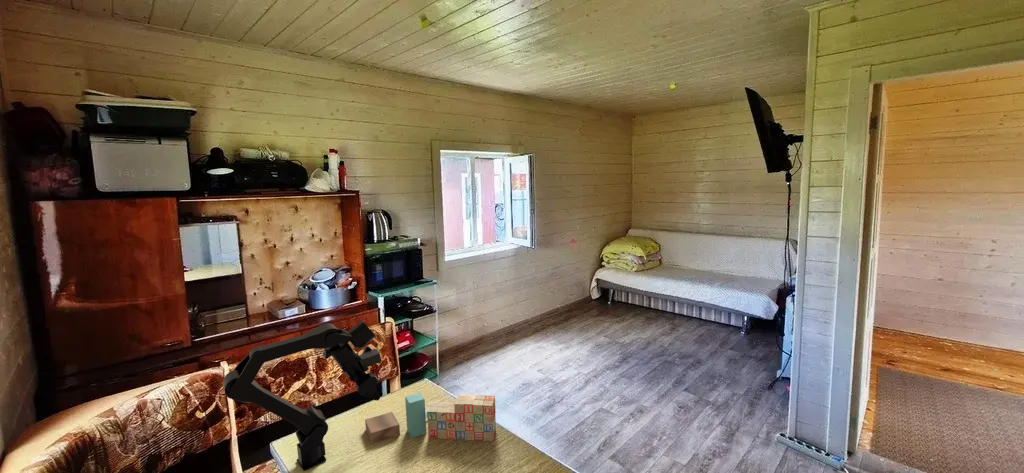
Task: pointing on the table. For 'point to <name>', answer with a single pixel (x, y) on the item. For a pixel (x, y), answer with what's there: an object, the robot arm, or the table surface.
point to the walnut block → (382, 427)
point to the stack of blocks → (463, 418)
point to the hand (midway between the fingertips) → (374, 393)
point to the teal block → (415, 414)
